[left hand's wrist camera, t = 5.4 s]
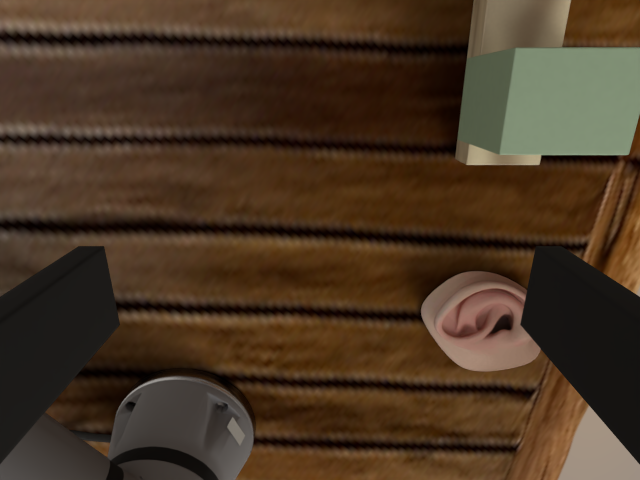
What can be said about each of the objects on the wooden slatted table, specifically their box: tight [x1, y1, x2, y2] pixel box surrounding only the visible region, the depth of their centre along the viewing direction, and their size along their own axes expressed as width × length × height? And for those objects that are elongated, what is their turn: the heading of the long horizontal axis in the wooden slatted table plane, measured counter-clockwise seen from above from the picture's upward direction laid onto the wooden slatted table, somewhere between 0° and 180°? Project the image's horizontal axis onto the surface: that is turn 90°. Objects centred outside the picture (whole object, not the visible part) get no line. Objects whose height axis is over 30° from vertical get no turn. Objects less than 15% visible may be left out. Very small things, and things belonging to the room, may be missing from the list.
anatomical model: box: [421, 271, 541, 371], centre depth 39 cm, size 13×4×12 cm
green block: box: [458, 47, 640, 155], centre depth 27 cm, size 8×6×8 cm
